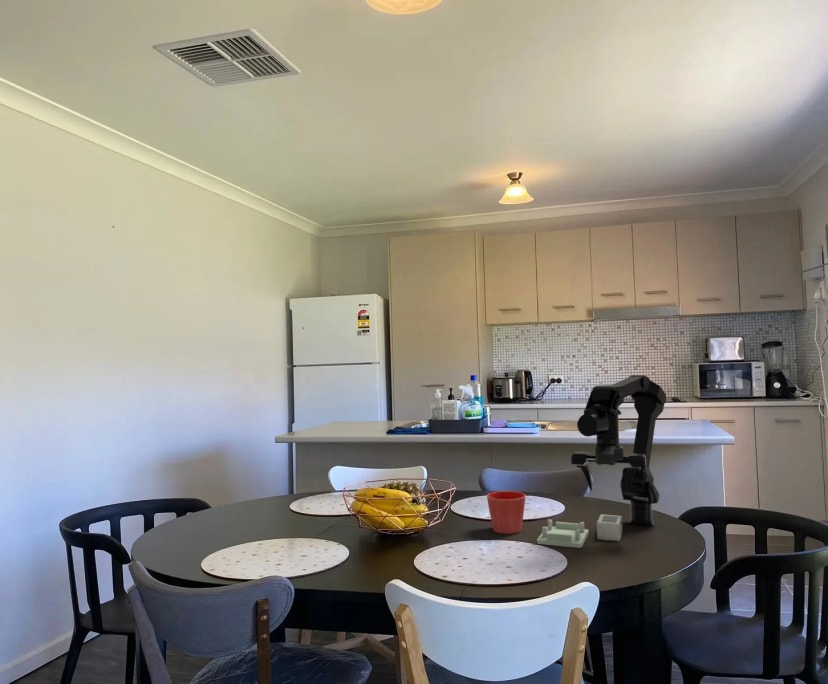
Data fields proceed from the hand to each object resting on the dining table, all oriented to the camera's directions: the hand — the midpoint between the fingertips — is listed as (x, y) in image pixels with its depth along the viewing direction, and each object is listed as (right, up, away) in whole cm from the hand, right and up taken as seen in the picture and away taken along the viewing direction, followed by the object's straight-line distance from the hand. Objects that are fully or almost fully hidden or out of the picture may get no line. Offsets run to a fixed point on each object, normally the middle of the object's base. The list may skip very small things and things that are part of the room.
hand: (609, 491), depth 165 cm
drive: (0, -12, 0) cm, 12 cm away
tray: (-13, -12, -2) cm, 17 cm away
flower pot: (-26, -13, +7) cm, 30 cm away
